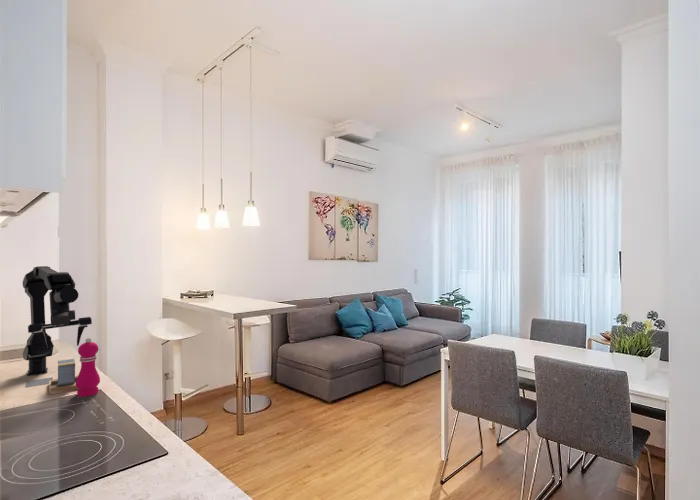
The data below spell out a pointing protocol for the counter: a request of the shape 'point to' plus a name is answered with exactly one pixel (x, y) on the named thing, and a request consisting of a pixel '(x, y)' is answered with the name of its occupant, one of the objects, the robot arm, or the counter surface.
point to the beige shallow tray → (55, 389)
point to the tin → (66, 372)
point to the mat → (38, 382)
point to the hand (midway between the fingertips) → (62, 348)
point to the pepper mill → (87, 369)
